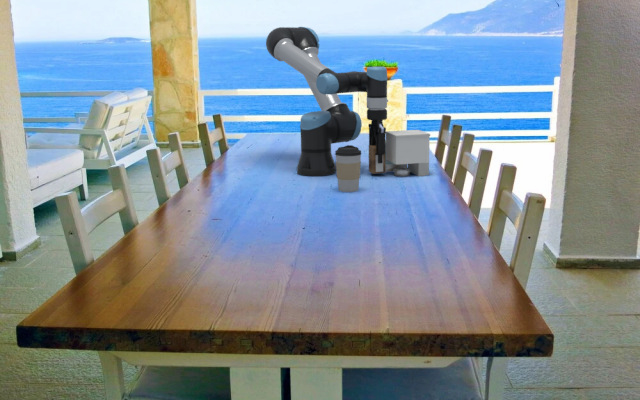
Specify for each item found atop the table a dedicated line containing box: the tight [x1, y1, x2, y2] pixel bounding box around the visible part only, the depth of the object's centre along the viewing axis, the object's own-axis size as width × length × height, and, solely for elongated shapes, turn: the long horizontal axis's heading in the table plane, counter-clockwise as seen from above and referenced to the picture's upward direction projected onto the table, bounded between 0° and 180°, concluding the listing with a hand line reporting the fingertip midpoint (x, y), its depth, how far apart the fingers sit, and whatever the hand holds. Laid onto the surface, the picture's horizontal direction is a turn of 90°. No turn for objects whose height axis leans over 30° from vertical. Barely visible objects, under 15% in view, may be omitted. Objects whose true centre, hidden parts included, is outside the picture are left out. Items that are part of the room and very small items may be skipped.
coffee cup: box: [334, 144, 362, 193], centre depth 235 cm, size 9×9×15 cm
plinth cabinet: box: [385, 129, 431, 177], centre depth 261 cm, size 13×12×16 cm
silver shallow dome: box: [393, 167, 411, 178], centre depth 260 cm, size 6×6×2 cm
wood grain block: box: [368, 145, 408, 175], centre depth 261 cm, size 14×5×10 cm, turn 103°
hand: (377, 170), depth 261 cm, fingers closed on wood grain block, 5 cm apart
